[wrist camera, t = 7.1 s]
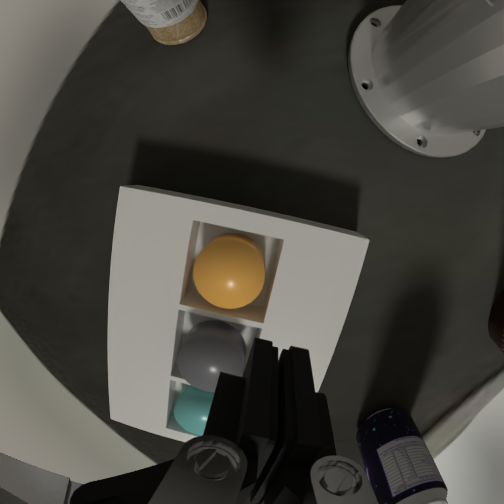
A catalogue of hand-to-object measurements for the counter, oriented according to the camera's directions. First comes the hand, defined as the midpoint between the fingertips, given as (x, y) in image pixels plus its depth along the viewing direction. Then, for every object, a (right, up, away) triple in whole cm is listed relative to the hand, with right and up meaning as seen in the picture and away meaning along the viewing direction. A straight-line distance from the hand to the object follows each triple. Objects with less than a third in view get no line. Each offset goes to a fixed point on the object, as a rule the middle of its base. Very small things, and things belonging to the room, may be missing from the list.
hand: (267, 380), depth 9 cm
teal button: (-4, -8, +15) cm, 18 cm away
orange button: (-2, +3, +12) cm, 13 cm away
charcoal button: (-3, -3, +13) cm, 13 cm away
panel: (-3, -2, +15) cm, 15 cm away
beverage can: (+12, -13, +16) cm, 24 cm away
